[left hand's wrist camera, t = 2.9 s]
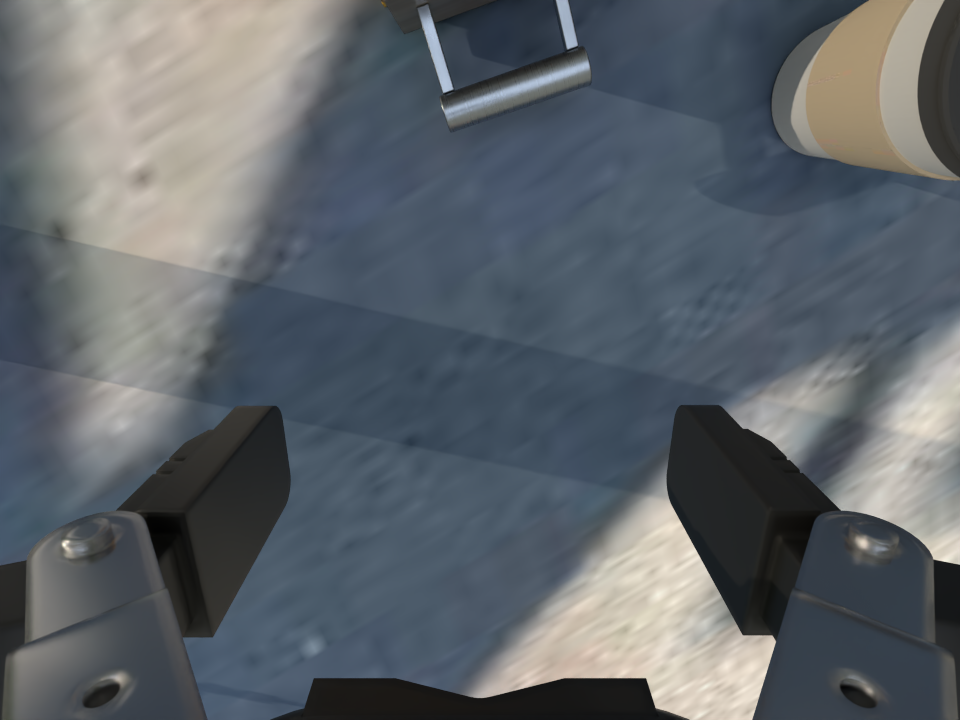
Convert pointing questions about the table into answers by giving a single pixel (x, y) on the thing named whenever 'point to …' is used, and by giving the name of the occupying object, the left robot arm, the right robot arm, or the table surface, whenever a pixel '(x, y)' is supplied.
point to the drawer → (426, 3)
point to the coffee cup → (877, 89)
